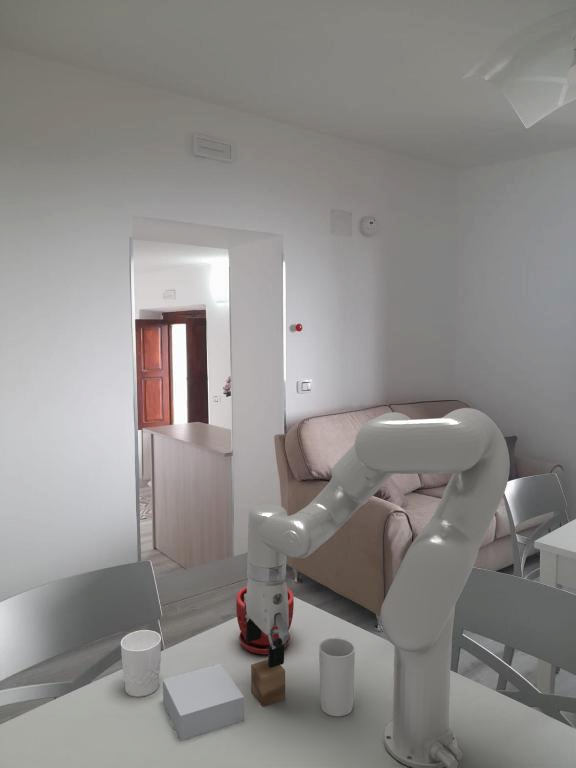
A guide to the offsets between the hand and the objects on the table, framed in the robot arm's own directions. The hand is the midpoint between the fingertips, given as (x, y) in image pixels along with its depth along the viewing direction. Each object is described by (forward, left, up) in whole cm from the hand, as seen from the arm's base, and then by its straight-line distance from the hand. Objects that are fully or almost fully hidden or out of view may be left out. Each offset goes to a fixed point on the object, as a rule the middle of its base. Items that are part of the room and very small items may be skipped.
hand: (264, 652), depth 116 cm
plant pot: (+16, -8, -9) cm, 20 cm away
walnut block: (-1, 0, -9) cm, 9 cm away
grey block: (+1, +13, -9) cm, 16 cm away
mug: (-9, -11, -9) cm, 17 cm away
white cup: (+14, +21, -9) cm, 27 cm away
